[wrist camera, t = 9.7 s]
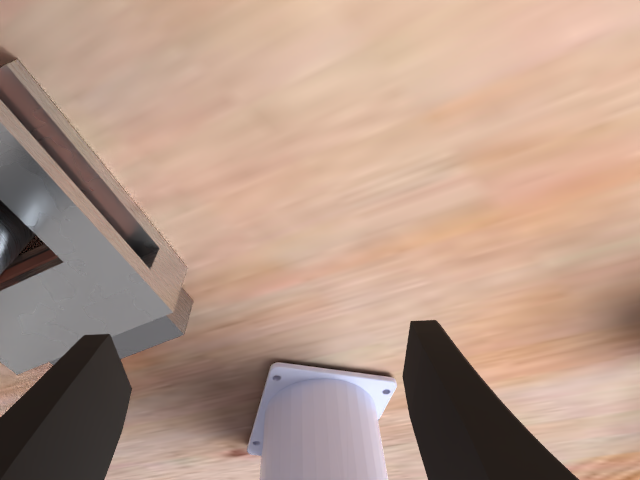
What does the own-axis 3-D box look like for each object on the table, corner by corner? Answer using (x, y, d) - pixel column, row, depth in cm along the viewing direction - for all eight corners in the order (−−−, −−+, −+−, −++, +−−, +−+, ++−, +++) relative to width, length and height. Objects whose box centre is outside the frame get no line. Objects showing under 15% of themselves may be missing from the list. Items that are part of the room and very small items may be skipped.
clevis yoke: (209, 294, 23) (198, 340, 21) (74, 349, 25) (47, 397, 22) (17, 59, 16) (-36, 82, 14) (-151, 157, 18) (-227, 194, 15)
